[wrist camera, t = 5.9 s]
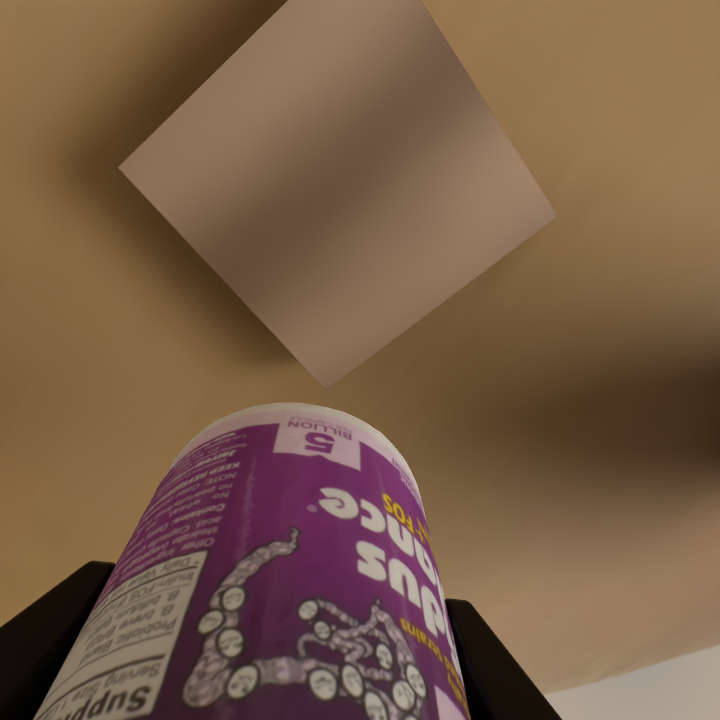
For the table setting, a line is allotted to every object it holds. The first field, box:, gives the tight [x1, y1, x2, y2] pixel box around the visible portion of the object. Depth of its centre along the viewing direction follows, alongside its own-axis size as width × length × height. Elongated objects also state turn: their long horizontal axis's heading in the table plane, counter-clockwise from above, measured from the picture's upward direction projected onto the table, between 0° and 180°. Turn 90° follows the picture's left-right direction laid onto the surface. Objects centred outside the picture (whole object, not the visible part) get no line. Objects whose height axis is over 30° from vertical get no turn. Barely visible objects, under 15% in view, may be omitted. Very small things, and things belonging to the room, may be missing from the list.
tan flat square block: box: [118, 0, 558, 390], centre depth 17 cm, size 9×9×3 cm
